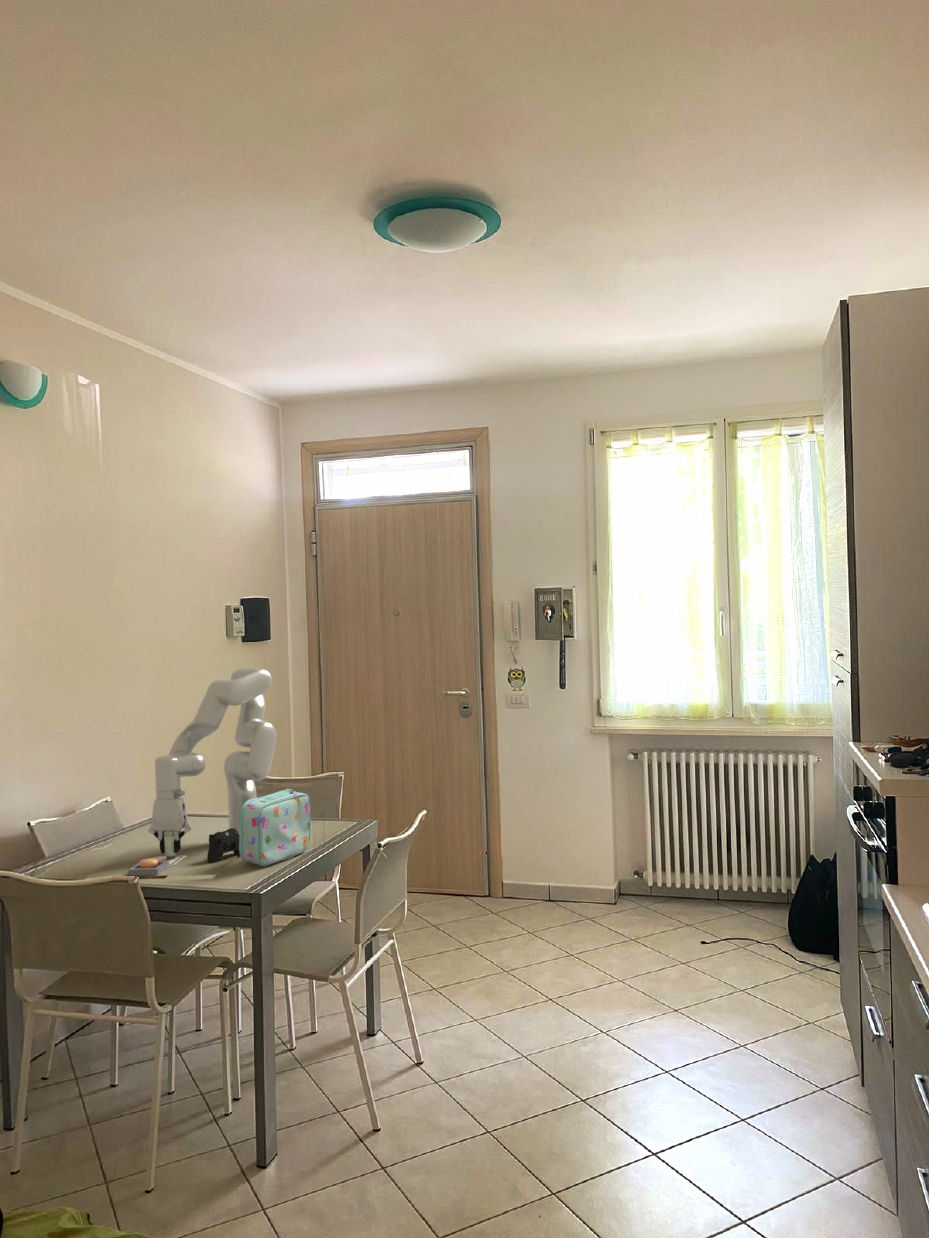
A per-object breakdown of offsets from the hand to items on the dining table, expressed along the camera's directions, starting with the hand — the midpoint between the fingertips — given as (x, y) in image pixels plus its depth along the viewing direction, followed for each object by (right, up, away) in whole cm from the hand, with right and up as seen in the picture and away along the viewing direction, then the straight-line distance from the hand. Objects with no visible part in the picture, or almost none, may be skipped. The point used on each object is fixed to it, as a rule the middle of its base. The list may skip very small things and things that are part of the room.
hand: (170, 851), depth 299 cm
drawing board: (-2, -3, -7) cm, 8 cm away
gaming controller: (+18, -3, -1) cm, 19 cm away
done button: (-2, -1, -14) cm, 14 cm away
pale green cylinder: (0, -2, 0) cm, 2 cm away
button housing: (-2, -3, -14) cm, 15 cm away
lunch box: (+34, -2, -1) cm, 34 cm away
